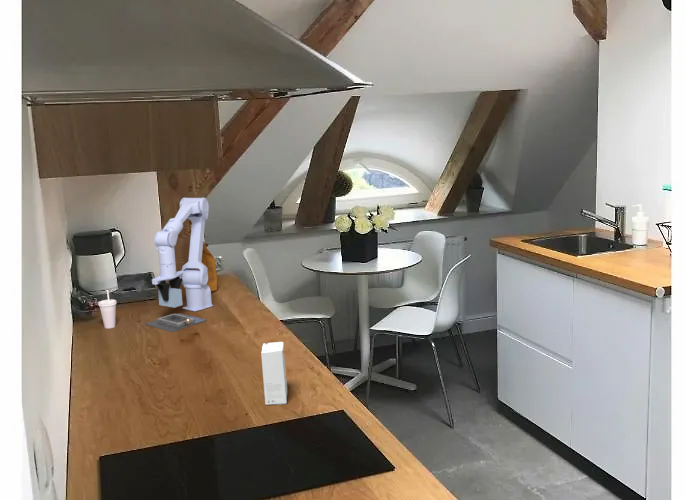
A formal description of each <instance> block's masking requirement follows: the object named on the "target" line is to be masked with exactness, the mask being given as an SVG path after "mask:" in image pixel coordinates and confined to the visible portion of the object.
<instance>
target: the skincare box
mask: <svg viewBox="0 0 685 500" xmlns="http://www.w3.org/2000/svg"><path fill="white" fill-rule="evenodd" d="M260 355H261V367H262V380H263V391H264V392H263V393H264V403H265V404H264V405H265V406H269V405H287V397H288V383H287V380H288V379H287V372H286V358H285V357H286V356H285V344H284V341H278V342H277V341H276V342H265V343H262V347H261V352H260Z"/></svg>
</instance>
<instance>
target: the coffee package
mask: <svg viewBox="0 0 685 500" xmlns="http://www.w3.org/2000/svg"><path fill="white" fill-rule="evenodd" d="M208 247H209V244H208V243H206V242H205V241H204V240H203V251H202V263H203V264H204V265H205V266H206V267H207V268H208V269H207V272H208V282H207V285H208V286H209V287H210V290H211V292H215V291H218V274H217V273H218V272H217V264H216V259H215V257H214V256H213V254H212V253H211V252H210V250H209V249H208ZM192 270H197V269H192Z"/></svg>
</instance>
